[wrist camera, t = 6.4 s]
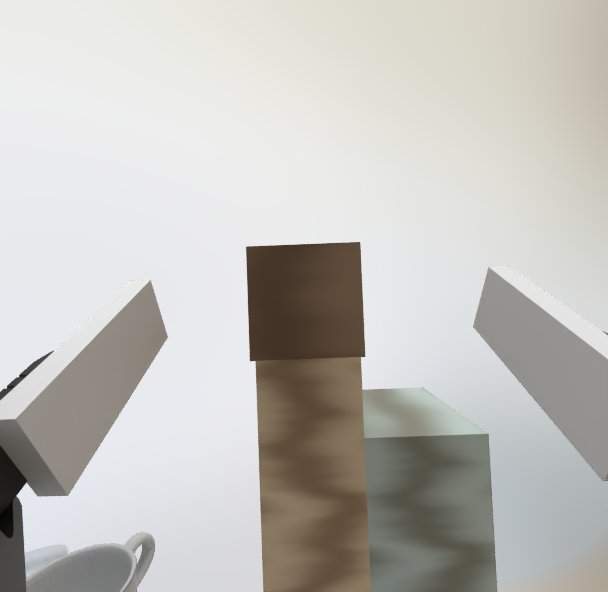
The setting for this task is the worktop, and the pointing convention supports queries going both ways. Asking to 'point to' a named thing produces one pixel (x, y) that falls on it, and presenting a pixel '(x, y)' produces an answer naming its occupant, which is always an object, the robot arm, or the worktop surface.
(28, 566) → the worktop surface
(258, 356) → the rail
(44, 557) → the worktop surface
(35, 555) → the worktop surface
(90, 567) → the teacup
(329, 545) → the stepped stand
